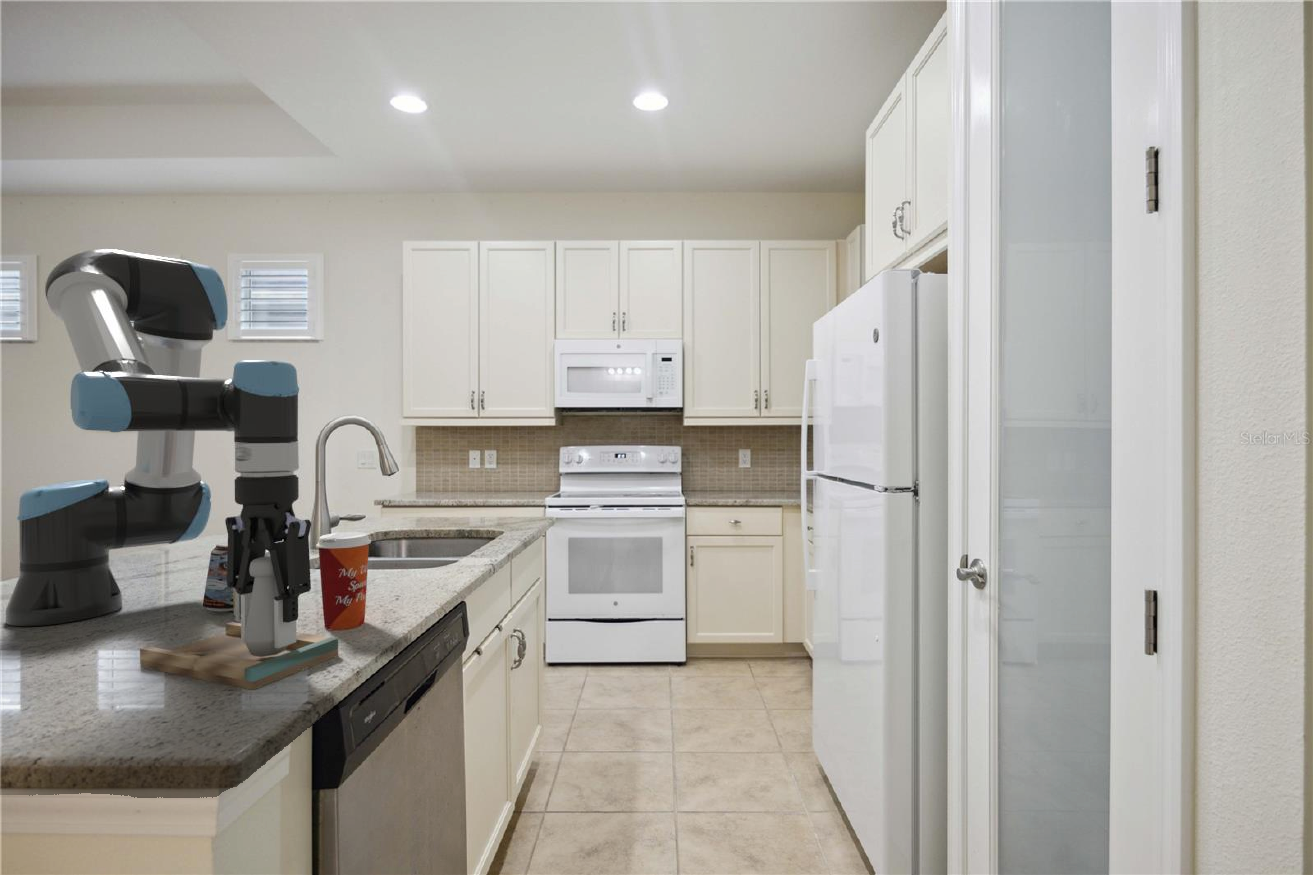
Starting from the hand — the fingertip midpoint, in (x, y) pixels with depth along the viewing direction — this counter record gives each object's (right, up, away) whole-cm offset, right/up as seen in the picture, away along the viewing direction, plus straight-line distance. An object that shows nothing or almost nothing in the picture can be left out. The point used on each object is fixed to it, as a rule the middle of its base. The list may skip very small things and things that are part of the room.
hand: (268, 641), depth 89 cm
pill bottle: (-16, -3, +22) cm, 27 cm away
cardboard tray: (-5, -3, +2) cm, 6 cm away
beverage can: (-24, -3, +28) cm, 37 cm away
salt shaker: (0, -2, 0) cm, 2 cm away
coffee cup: (+1, -3, +19) cm, 19 cm away
